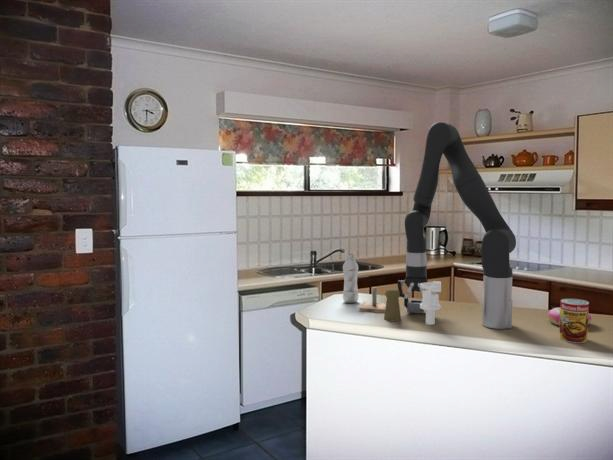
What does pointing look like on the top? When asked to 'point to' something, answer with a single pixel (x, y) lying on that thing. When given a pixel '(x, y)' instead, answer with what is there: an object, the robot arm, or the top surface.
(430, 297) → the strainer
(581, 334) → the canned food
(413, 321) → the top surface
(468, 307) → the top surface
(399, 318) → the cork
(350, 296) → the plastic bottle
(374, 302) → the toggle switch
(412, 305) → the grey hollow square block
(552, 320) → the donut
